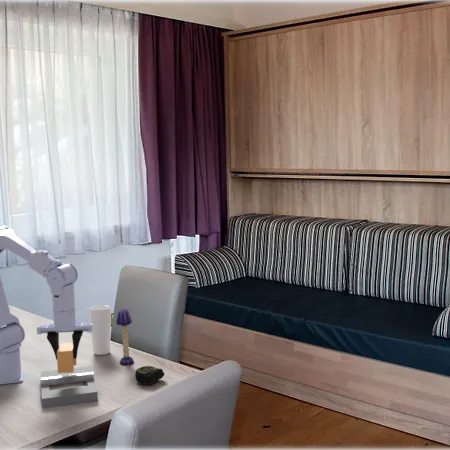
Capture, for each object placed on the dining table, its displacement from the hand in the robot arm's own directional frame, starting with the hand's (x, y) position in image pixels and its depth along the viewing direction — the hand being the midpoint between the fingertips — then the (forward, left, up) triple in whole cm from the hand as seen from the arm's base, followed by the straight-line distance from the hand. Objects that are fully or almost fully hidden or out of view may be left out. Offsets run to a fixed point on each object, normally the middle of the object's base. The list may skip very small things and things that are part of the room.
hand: (66, 357), depth 174 cm
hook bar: (0, 0, -7) cm, 7 cm away
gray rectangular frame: (0, 0, -9) cm, 9 cm away
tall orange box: (0, 0, -3) cm, 3 cm away
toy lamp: (+18, +16, -9) cm, 26 cm away
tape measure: (+22, -1, -10) cm, 24 cm away
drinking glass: (+12, +28, -9) cm, 32 cm away
